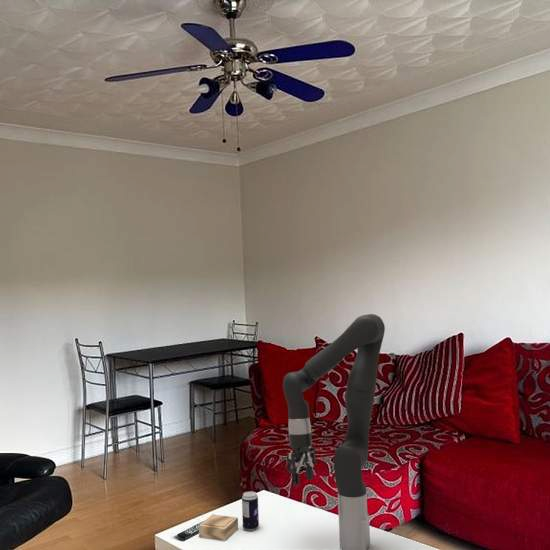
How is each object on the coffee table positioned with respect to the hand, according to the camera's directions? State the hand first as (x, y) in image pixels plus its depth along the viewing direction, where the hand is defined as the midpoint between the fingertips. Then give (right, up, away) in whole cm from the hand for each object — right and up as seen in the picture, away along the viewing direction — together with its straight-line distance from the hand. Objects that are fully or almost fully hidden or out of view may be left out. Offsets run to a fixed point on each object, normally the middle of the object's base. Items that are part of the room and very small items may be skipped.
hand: (303, 482), depth 189 cm
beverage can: (-18, -21, +12) cm, 30 cm away
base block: (-29, -21, +9) cm, 37 cm away
